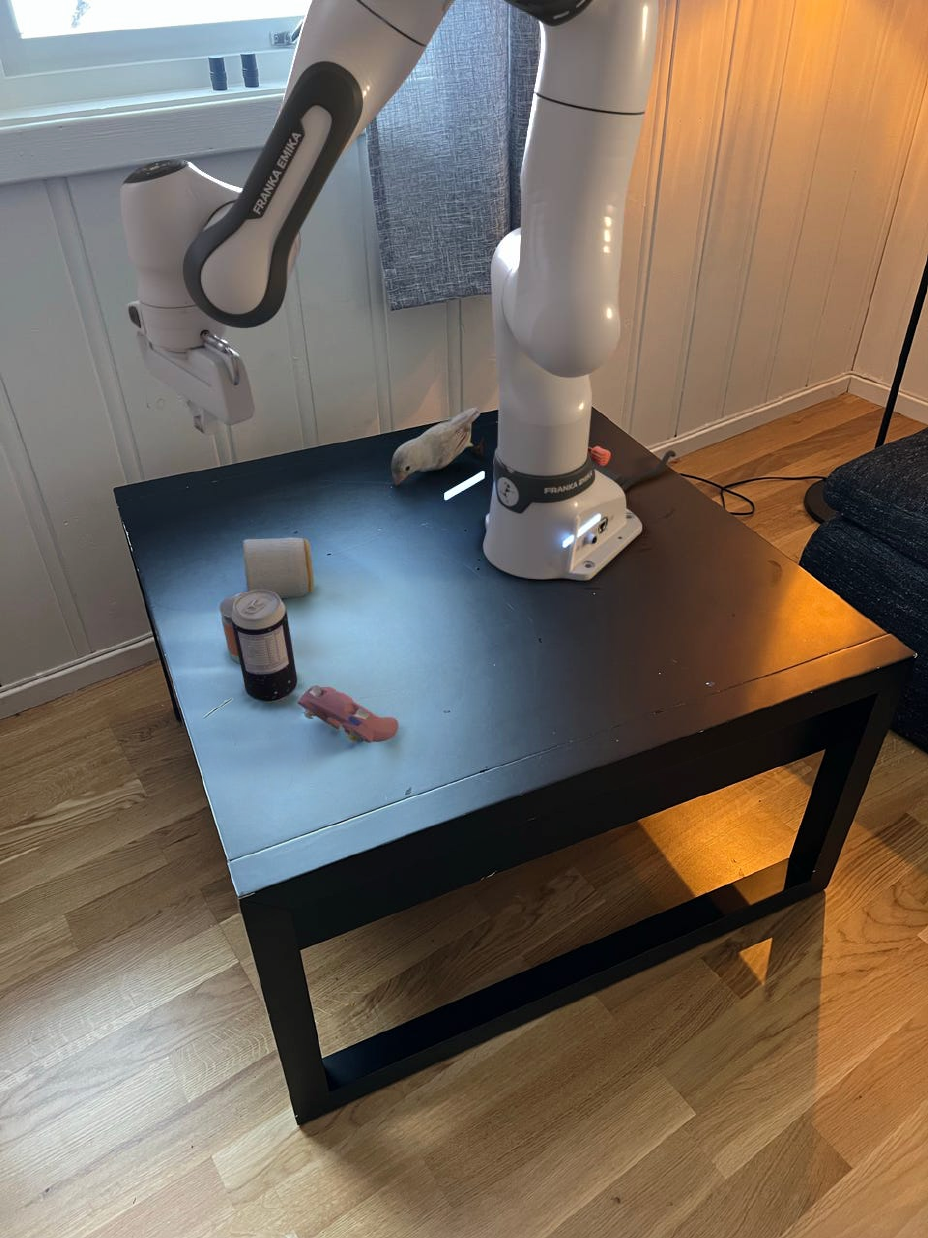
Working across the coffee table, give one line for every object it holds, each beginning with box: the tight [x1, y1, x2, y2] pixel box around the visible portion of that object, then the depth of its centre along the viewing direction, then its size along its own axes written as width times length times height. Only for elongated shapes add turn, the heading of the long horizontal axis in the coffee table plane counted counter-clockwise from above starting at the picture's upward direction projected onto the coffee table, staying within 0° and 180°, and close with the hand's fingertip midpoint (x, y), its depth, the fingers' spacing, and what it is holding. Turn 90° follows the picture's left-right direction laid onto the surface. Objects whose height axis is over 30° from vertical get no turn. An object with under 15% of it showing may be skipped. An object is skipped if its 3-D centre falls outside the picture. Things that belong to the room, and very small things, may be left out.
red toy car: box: [297, 685, 400, 744], centre depth 96 cm, size 10×5×7 cm, turn 56°
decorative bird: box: [390, 406, 484, 486], centre depth 138 cm, size 5×16×8 cm, turn 130°
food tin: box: [219, 592, 245, 666], centre depth 105 cm, size 5×5×7 cm
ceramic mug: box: [242, 536, 315, 600], centre depth 115 cm, size 11×8×8 cm
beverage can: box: [231, 590, 298, 704], centre depth 99 cm, size 6×6×12 cm
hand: (206, 430), depth 114 cm, fingers closed
